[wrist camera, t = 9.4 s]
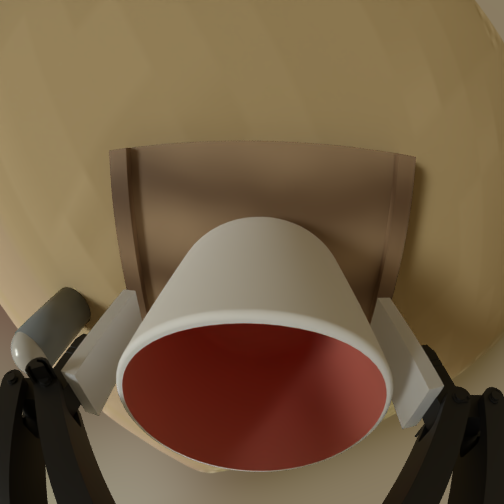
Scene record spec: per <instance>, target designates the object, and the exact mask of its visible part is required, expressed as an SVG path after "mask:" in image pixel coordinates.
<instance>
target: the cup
mask: <svg viewBox="0 0 504 504" xmlns="http://www.w3.org/2000/svg"><path fill="white" fill-rule="evenodd" d="M116 384H117V390H118V394H119V397H120V400H121V402H122V404H123V406H124V408H125V410H126V411H127V413H128V414H129V416H130V417H131V418H132V419H133V421H134V422H135V423H136V424H137V425H138V426H139V427H140V428H141V429H142V430H143V431H144V432H145V433H146V434H147V435H149V436H150V437H151V438H153V439H154V440H155V441H157V442H158V443H160V444H161V445H163V446H165V447H166V448H168V449H170V450H172V451H174V452H175V453H178V454H180V455H182V456H184V457H187V458H189V459H192V460H194V461H197V462H200V463H204V464H207V465H211V466H215V467H219V468H224V469H231V470H239V471H254V472H267V471H280V470H289V469H295V468H300V467H305V466H309V465H312V464H316V463H319V462H322V461H325V460H327V459H330V458H332V457H335V456H337V455H339V454H341V453H343V452H344V451H347V450H348V449H350V448H352V447H353V446H355V445H356V444H358V443H359V442H361V441H362V440H363V439H364V438H366V437H367V436H368V435H369V434H370V433H371V432H372V431H373V430H374V429H375V428H376V427H377V426H378V424H379V423H380V422H381V421H382V419H383V417H384V416H385V414H386V413H387V410H388V408H389V406H390V403H391V400H392V396H393V377H392V372H391V370H390V367H389V365H388V362H387V360H386V358H385V356H384V354H383V351H382V349H381V347H380V345H379V343H378V341H377V339H376V337H375V334H374V332H373V330H372V328H371V326H370V324H369V322H368V320H367V318H366V316H365V314H364V312H363V310H362V308H361V306H360V304H359V302H358V300H357V298H356V296H355V295H354V293H353V291H352V289H351V287H350V285H349V283H348V281H347V279H346V278H345V276H344V274H343V272H342V270H341V268H340V267H339V265H338V263H337V261H336V259H335V258H334V256H333V254H332V253H331V251H330V250H329V249H328V248H327V246H326V245H325V244H324V243H323V242H322V241H321V240H320V239H319V238H317V237H316V236H315V235H314V234H312V233H311V232H310V231H308V230H306V229H305V228H303V227H301V226H299V225H297V224H294V223H292V222H289V221H286V220H282V219H278V218H272V217H247V218H241V219H237V220H233V221H230V222H227V223H224V224H222V225H220V226H218V227H216V228H214V229H212V230H211V231H209V232H208V233H206V234H205V235H204V236H202V237H201V238H200V239H199V240H198V241H197V242H196V243H195V244H194V245H193V246H192V248H191V249H190V250H189V251H188V253H187V254H186V256H185V257H184V259H183V260H182V262H181V263H180V265H179V266H178V267H177V269H176V270H175V272H174V273H173V275H172V276H171V278H170V279H169V281H168V282H167V284H166V285H165V287H164V289H163V290H162V292H161V293H160V295H159V296H158V298H157V299H156V301H155V302H154V304H153V305H152V307H151V309H150V310H149V312H148V313H147V315H146V316H145V318H144V320H143V321H142V323H141V324H140V326H139V328H138V329H137V331H136V332H135V334H134V336H133V337H132V339H131V341H130V342H129V344H128V346H127V347H126V349H125V351H124V352H123V354H122V356H121V358H120V360H119V363H118V367H117V372H116Z"/></svg>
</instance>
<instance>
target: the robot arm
mask: <svg viewBox="0 0 504 504" xmlns="http://www.w3.org/2000/svg"><path fill="white" fill-rule="evenodd" d="M141 323H142V318H141V314H140V309H139V305H138V301H137V296H136V291H134V290H123V291H122V292H121V293H120V295H119V296H118V297H117V298H116V299H115V301H114V302H113V303H112V304H111V305H110V307H109V308H108V309H107V310H106V312H105V313H104V314H103V315H102V317H101V318H100V319H99V320H98V322H97V323H96V324H95V325H94V327H93V328H92V329H91V331H90V332H89V333H88V335H87V334H82V335H81V336H79V337H78V338H77V339H75V341H74V342H73V343H72V344H71V346H70V347H69V348H68V350H67V351H66V353H65V354H64V355H63V356H62V358H61V359H60V360H59V362H58V363H57V364H56V366H55V367H54V368H52V366H51V364H50V363H49V361H48V360H47V359H46V358H43V357H37V358H35V359H32V360H31V361H30V362H29V363H28V364H27V366H26V368H25V371H26V373H27V375H28V376H29V378H24V376H23V375H22V373H21V372H20V371H19V370H15V369H14V370H11V371H9V372H7V373H6V374H5V375H4V377H3V379H2V383H1V386H0V504H48V501H47V490H46V470H45V464H46V468H47V472H48V475H49V479H50V483H51V486H52V489H53V493H54V495H55V499H56V501H57V504H116V503H115V501H114V499H113V498H112V495H111V493H110V491H109V489H108V487H107V485H106V483H105V480H104V478H103V476H102V474H101V471H100V469H99V466H98V464H97V461H96V459H95V456H94V454H93V451H92V448H91V445H90V442H89V439H88V437H87V433H86V430H85V427H84V424H83V420H82V417H81V414H80V412H79V410H78V408H79V406H80V405H82V406H83V408H84V409H85V411H86V412H89V413H92V414H95V415H98V416H99V415H100V413H101V411H102V409H103V407H104V405H105V403H106V401H107V399H108V397H109V395H110V393H111V391H112V389H113V387H114V385H115V384H116V372H117V367H118V363H119V360H120V358H121V356H122V354H123V352H124V351H125V349H126V347H127V346H128V344H129V342H130V341H131V339H132V337H133V336H134V334H135V332H136V331H137V329H138V328H139V326H140V324H141ZM370 326H371V328H372V330H373V332H374V334H375V337H376V339H377V341H378V343H379V345H380V347H381V349H382V351H383V354H384V356H385V358H386V360H387V362H388V365H389V367H390V370H391V372H392V377H393V396H392V402H393V404H394V407H395V410H396V413H397V415H398V418H399V421H400V423H401V426H402V429H404V428H408V427H412V426H416V425H417V424H418V423H419V421H420V420H421V419H422V418H423V421H424V423H425V424H424V425H423V426H422V427H421V429H420V430H419V431H418V433H417V434H416V435H415V437H417V436H418V438H417V440H416V442H415V444H414V446H413V449H412V451H411V453H410V455H409V457H408V459H407V461H406V463H405V465H404V467H403V469H402V471H401V472H400V474H399V476H398V478H397V480H396V482H395V483H394V485H393V487H392V488H391V490H390V492H389V493H388V495H387V497H386V498H385V500H384V502H383V503H382V504H439V503H440V501H441V499H442V496H443V494H444V492H445V489H446V487H447V485H448V482H449V479H450V477H451V474H452V471H453V475H452V481H451V488H450V493H449V499H448V504H504V396H503V394H502V392H501V391H500V390H498V389H497V388H494V387H489V388H487V389H486V390H485V392H484V393H483V394H482V395H470V394H469V393H468V391H467V390H466V389H464V388H462V387H456V386H455V385H454V383H453V381H452V380H451V378H450V376H449V375H448V373H447V371H446V369H445V368H444V366H442V363H441V361H440V360H439V358H438V356H437V355H436V353H435V352H434V350H432V349H431V348H430V347H429V346H428V345H422V346H421V345H420V343H419V342H418V340H417V338H416V337H415V335H414V334H413V332H412V330H411V329H410V327H409V326H408V324H407V323H406V321H405V320H404V318H403V317H402V315H401V313H400V312H399V310H398V309H397V307H396V306H395V305H394V303H393V302H392V300H391V299H390V298H377V302H376V306H375V310H374V313H373V317H372V321H371V324H370ZM22 412H23V415H22Z"/></svg>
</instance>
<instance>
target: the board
mask: <svg viewBox="0 0 504 504" xmlns="http://www.w3.org/2000/svg"><path fill="white" fill-rule="evenodd" d="M109 156H110V175H111V188H112V199H113V208H114V217H115V225H116V232H117V239H118V245H119V251H120V257H121V263H122V268H123V273H124V279H125V283H126V288H127V290H134V291H136V296H137V301H138V305H139V309H140V314H141V318H142V321H143V320H144V318H145V316H146V315H147V313H148V312H149V310H150V309H151V307H152V305H153V304H154V302H155V301H156V299H157V298H158V296H159V295H160V293H161V292H162V290H163V289H164V287H165V285H166V284H167V282H168V281H169V279H170V278H171V276H172V275H173V273H174V272H175V270H176V269H177V267H178V266H179V265H180V263H181V262H182V260H183V259H184V257H185V256H186V254H187V253H188V251H189V250H190V249H191V248H192V246H193V245H194V244H195V243H196V242H197V241H198V240H199V239H200V238H201V237H202V236H204V235H205V234H206V233H208V232H209V231H211V230H212V229H214V228H216V227H218V226H220V225H222V224H224V223H227V222H230V221H233V220H237V219H241V218H247V217H272V218H278V219H282V220H286V221H289V222H292V223H294V224H297V225H299V226H301V227H303V228H305V229H306V230H308V231H310V232H311V233H312V234H314V235H315V236H316V237H317V238H319V239H320V240H321V241H322V242H323V243H324V244H325V245H326V246H327V248H328V249H329V250H330V251H331V253H332V254H333V256H334V258H335V259H336V261H337V263H338V265H339V267H340V268H341V270H342V272H343V274H344V276H345V278H346V279H347V281H348V283H349V285H350V287H351V289H352V291H353V293H354V295H355V296H356V298H357V300H358V302H359V304H360V306H361V308H362V310H363V312H364V314H365V316H366V318H367V320H368V322H369V324H371V321H372V317H373V313H374V310H375V306H376V302H377V298H390V299H391V300H392V297H393V293H394V289H395V285H396V281H397V277H398V273H399V269H400V264H401V260H402V255H403V250H404V245H405V240H406V234H407V229H408V223H409V216H410V209H411V202H412V194H413V185H414V175H415V163H416V157H414V156H408V155H403V154H397V153H390V152H384V151H377V150H370V149H363V148H355V147H346V146H337V145H326V144H314V143H299V142H278V141H210V142H189V143H174V144H161V145H151V146H142V147H133V148H124V149H116V150H110V151H109Z"/></svg>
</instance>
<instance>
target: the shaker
mask: <svg viewBox="0 0 504 504" xmlns="http://www.w3.org/2000/svg"><path fill="white" fill-rule="evenodd" d="M89 320H90V309H89V306H88V304H87V302H86V301H85V299H84V298H83V297H82V296H81V295H80V294H79V293H78V292H77V291H75V290H74V289H72V288H68V287H64V288H62V289H61V290H60V291H58V292H57V293H56V294H55V295H54V296H53V297H52V298H51V299H49V300H48V301H47V302H46V303H45V304H44V305H43V306H42V307H41V308H40V309H39V310H38V311H36V312H35V313H34V314H33V315H32V316H31V317H30V318H29V319H28V320H27V321H26V322H25V323H24V324H23V325H22V326H21V327H20V328H19V329H18V330H17V331H16V332H15V336H14V337H13V339H12V343H11V354H12V358H13V360H14V362H15V364H16V365H17V367H18V368H19V369H20V370H21V371H23V372H24V373H26V371H25V368H26V366H27V364H28V363H29V362H30V361H31V360H32V359H35V358H37V357H43V358H46V359H47V360H48V361H49V363H50V364H51V366H53V365H54V364H55V362H56V361H57V360H58V358H59V357H60V356H61V354H62V353H63V352H64V351H65V349H66V348H67V347H68V346H69V344H70V343H71V342H72V341H73V339H74V338H75V337H76V336H77V334H78V333H79V332H80V331H81V330H82V328H83V327H84V326H85V325H86V324H87V322H88V321H89ZM26 374H27V373H26Z"/></svg>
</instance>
